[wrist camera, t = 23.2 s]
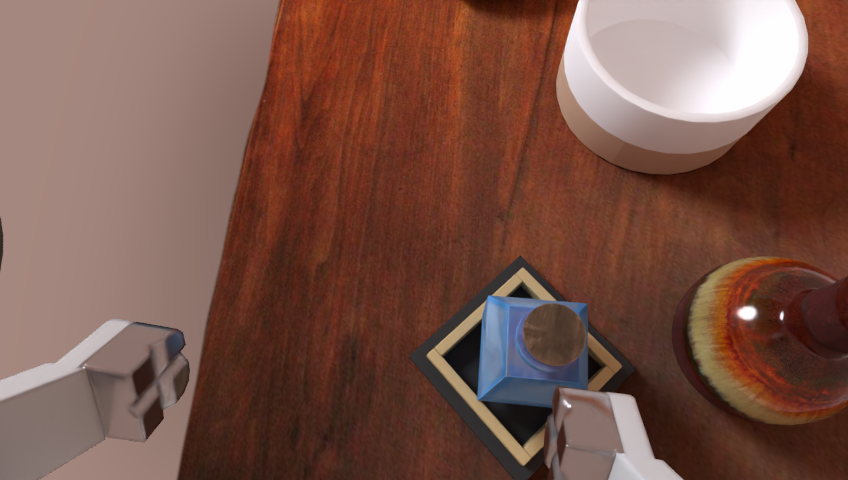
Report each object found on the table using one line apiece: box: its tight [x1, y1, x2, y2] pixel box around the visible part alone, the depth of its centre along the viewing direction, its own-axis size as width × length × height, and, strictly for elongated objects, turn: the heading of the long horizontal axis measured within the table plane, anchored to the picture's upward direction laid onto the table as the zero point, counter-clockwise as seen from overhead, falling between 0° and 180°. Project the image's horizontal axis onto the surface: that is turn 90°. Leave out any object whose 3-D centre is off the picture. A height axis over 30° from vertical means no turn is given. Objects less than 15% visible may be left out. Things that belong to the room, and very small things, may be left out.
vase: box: [672, 256, 848, 425], centre depth 32 cm, size 11×11×15 cm
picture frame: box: [409, 256, 635, 480], centre depth 38 cm, size 12×12×2 cm
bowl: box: [556, 0, 808, 174], centre depth 43 cm, size 17×17×8 cm
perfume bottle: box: [477, 295, 588, 408], centre depth 31 cm, size 6×6×12 cm
